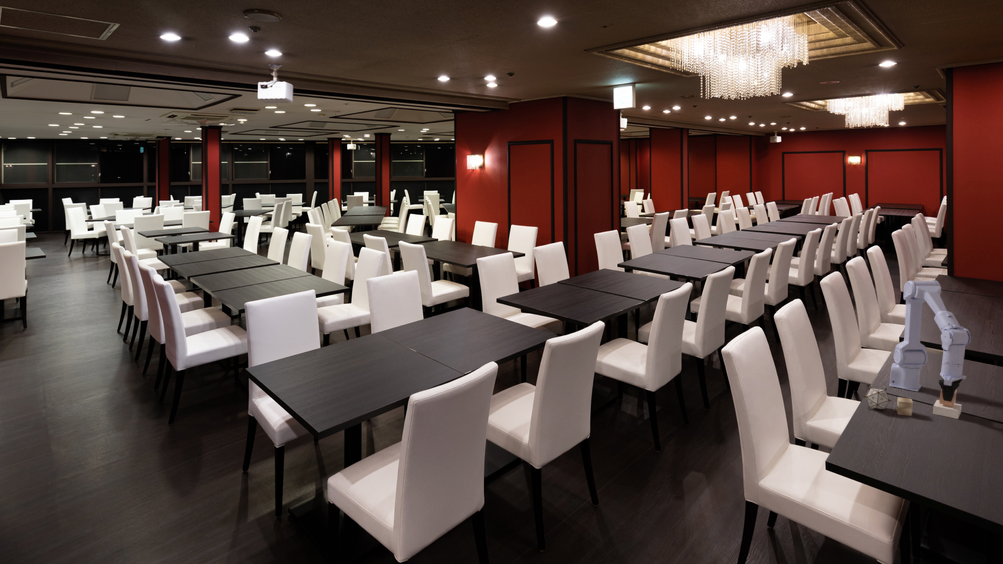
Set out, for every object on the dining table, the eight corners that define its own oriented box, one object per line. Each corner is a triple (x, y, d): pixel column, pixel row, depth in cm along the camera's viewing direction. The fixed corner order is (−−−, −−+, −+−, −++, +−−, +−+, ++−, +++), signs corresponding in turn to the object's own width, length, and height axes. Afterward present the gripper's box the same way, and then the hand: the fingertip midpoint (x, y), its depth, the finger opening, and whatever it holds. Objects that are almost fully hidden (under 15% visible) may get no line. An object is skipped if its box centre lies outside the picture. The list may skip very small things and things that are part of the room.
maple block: (897, 414, 199) (898, 401, 198) (896, 410, 202) (897, 397, 201) (911, 416, 197) (912, 403, 196) (910, 412, 200) (911, 398, 199)
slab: (932, 413, 198) (933, 405, 197) (936, 407, 203) (937, 399, 202) (957, 419, 193) (958, 410, 192) (960, 412, 198) (961, 404, 197)
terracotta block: (939, 403, 197) (940, 390, 196) (941, 400, 200) (942, 386, 199) (953, 406, 194) (955, 392, 194) (955, 402, 197) (956, 389, 196)
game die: (878, 420, 202) (880, 406, 196) (856, 405, 209) (858, 390, 202) (896, 406, 204) (899, 391, 197) (873, 391, 210) (876, 376, 203)
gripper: (964, 370, 186) (959, 408, 189) (970, 359, 196) (965, 395, 199) (938, 365, 191) (934, 402, 194) (945, 355, 201) (941, 390, 204)
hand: (948, 398), depth 197 cm, fingers closed on terracotta block, 4 cm apart
